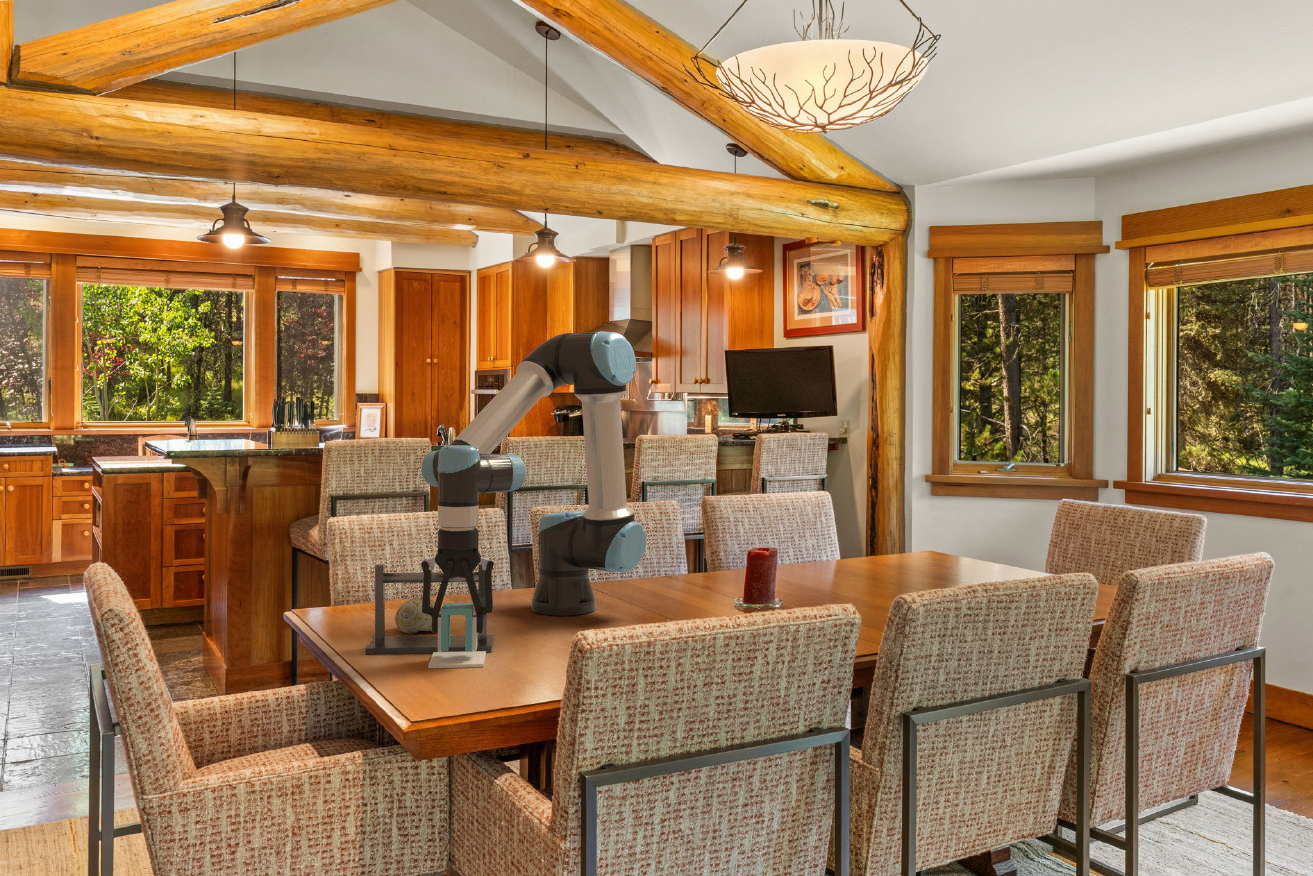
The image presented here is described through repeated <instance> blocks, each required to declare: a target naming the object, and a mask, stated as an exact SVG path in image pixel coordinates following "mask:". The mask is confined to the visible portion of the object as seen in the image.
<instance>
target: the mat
mask: <svg viewBox="0 0 1313 876" xmlns="http://www.w3.org/2000/svg"><path fill="white" fill-rule="evenodd" d="M486 655H487V652H486V651H476V652H433V653H432V655H431V658H430V660H429V663H428V665H427V667H428V669H460V668H461V669H462V668H465V669H466V668H484V667H485V663H486V662H485V661H486Z"/></svg>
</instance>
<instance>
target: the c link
mask: <svg viewBox="0 0 1313 876" xmlns="http://www.w3.org/2000/svg"><path fill="white" fill-rule="evenodd" d="M441 608H442V609H441V652H446V651H448V649H449V646H450V636H451V616H465V617H464V618H465V620H464V621H465V625H464V627H465V632H464V633H465V634H464V635H465V651H472V617H473V614H475V612H474V611H475V608H474V605H473V602H445V603H442V605H441Z"/></svg>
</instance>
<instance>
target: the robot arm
mask: <svg viewBox="0 0 1313 876" xmlns="http://www.w3.org/2000/svg"><path fill="white" fill-rule="evenodd" d="M636 368H637V361H636V355H635V352H634V348H633V346H632V345H631V343H630V342H629V341H628V340H627V338H626V337H625V336H624V335H623V334H620V333H618V332H611V331H602V330H601V331H595V332H594V331H592V332H591V331H590V332H574V333H573V332H565V333H560V334H557V335H555V336H553V337H551V338H549V339H547V340H546V341H544V342H542V343H541V344H540V345H538V346H536V348H534V349H533V350H532V351H531V352H529V354H527V355H526V357H524V358H523V359H522V360H521V362H519V364H518V365H517V366H516V370H515V371H516V373H515V375H514V376H513V377H512V378H510V379H509V381H508V382H507V383H506V384H505V385H504V386H503V387H502V389H500V391H499V392H498V393H497V394H496V395H495V396H494V397H493V398H492V399H491V400H490V401H489V402H487V405H485V406H484V407H483V408H482V409H481V411H479V413H478V414H477V415H476V416H475V417H474V418H473V419H472V420H471V421H470V423H468V425H467V426H466V427H465V428H464V429H463V430H462V431H461V432H460V433H459V434H458V435H457V436H456V437H455V439H453V440H452V441H451V442H450V443H449V444H448V445H444V446H442V447H441V448H439V449H438V450H433V451H430V452H428V453H427V454H425V456H424V458H423V460H422V462H421V468H420V469H421V474H422V478H423V480H424V481H425V482H426V484H428V485H430V486H431V487H435V488H437V526H438V527H439V529H438V531H437V552H436V555H435V556H434V557H433V558H429V559H422V561H421V563H420V566H421V569H422V573H424V581H423V583H422V584H423V586H422V597H423V600H422V612H423V613H424V614H428V615H430V616H431V617H432V631H431V632H432V634H436V635H437V636H438V652H441V615H439V612H440V609H441V608H442V606H443V602H444V598H445V595H446V592H447V589H448V585H449V584H450V582H449V579H450V578H455V577H461V578H465V579H466V582H465V583H466V585H467V587H468V591H469V595H470V597H471V600H472V603H473V605H474V611H475V612H474V614H473V617H472V652H476V650H477V635H478V633H482V631H483V616H484V615H485V614H487V615H488V614H491V613H492V612H493V609H494V603H493V602H494V601H493V578H492V577H493V576H492V574H493V573H492V571H493V569H494V566H495V560H494V559H493V558H489V559H488V558H485V557H482V556H481V553H480V551H479V550H480V549H479V543H480V542H479V539H480V538H479V536H480V535H479V529H478V528H476V527H477V526H479V521H480V519H479V517H480V516H479V515H480V514H479V512H480V509H479V507H480V495H483V494H484V495H485V494H496V493H509V492H513V491H516V490H519V489H520V488H522V486H523V485H524V483H525V481H526V478H527V467H526V464H525V462H524V460H523V459H522V458H521V457H520V456H519V455H518V454H515V453H504V452H502V453H492V452H494V450H495V449H496V448H498V446H499V445H500V444H501V443H502V441H503V440H504V439H505V438H506V437H507V436H508V435H509V434H510V432H512V431H513V429H514V428H515V427H516V426H517V425H518V424H519V423H520V421H521V420H522V419H524V417H525V416H526V414H528V413H529V412H530V411H531V409H532V408H533V407H534V406H535V405H536V404H537V403H538V401H540V399H541V398H543V397H544V398H545V397H549V396H550V395H551V394H552V393H553V392H554V391H555V390H556V389H557V388H560V387H562V386H568V385H571V386H573V391H574V392H573V393H574V395H573V396H575V397H576V398H577V399H578V400H579V401H580V402H581V408H582V411H581V412H582V423H583V424H582V425H583V436H584V437H583V438H584V439H583V440H584V455H585V468H586V469H585V470H586V483H587V485H586V486H587V497H588V507H587V509H586V510H584V509H583V510H581V509H580V510H571V511H569V510H568V511H561V512H559V511H558V512H553V513H552V512H550V513H546V514H544V515H541V517H540V519H539V528H538V529H539V530H538V579H537V581H536V582H537V583H536V585H535V588H534V591H533V594H532V597H531V603H530V604H531V607H530V608H531V609H530V610H531V611H532V612H533V613H537V614H540V615H546V616H547V615H548V616H557V617H558V616H560V617H561V616H565V617H566V616H578V615H584V614H588V613H589V614H590V613H593V612H595V610H596V608H597V604H596V602H597V601H596V596H595V593H594V590H593V586H592V583H591V580H590V578H589V577H590V576H589V569H590V570H597V571H603V572H608V573H610V574H611V573H612V574H614V573H616V574H617V573H619V574H624V573H625V574H626V573H629V572H631V571H633V570H635V568H637V566H638V565H639V564H640V562H641V560H642V559H643V558H644V554H645V551H646V547H647V532H646V529H645V528H644V526H643V525H642V524H641V523H639V522H638V521H635V511H634V509H633V508H631V506H630V505H629V504H627V501H628V499H627V486H626V485H627V483H626V471H625V456H624V455H625V453H624V452H625V451H624V439H623V437H624V435H623V424H622V409H621V407H622V406H621V399H622V398H623V396H625V394H626V393H627V385H628V384H629V383H630V382H631V381H632V380H633V379H634V377H635V375H634V374H635V373H636ZM479 563H481V565H482V569H483V570H485V600H486V606H484V607H482V604H481V600H480V597H479V594H478V586H477V582H475V580H474V575H473V572H475V569H476V568H477V567H478V566H479ZM435 565H437V566H438V568H439V569H440V570H441V572H443V573H444V575H443V578H442V582H441V583H440V586H439V588H438V592H437V596H436V599H435V601H434V602H435V605H434V608H433V607H430V600H431V597H432V596H431V595H432V594H431V593H432V583H431V578H432V572H433V570H434V569H435Z"/></svg>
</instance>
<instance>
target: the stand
mask: <svg viewBox="0 0 1313 876" xmlns="http://www.w3.org/2000/svg"><path fill="white" fill-rule="evenodd" d="M385 566H386V564H381V563H379V564H378V563H376V564H375V565H374V636H372V638H371V640H370V641H369V643H368V644H367V646H366V647H365V650H364V651H365V655H367V656H369V655H371V656H372V655H411V654H412V655H413V654H415V655H417V654H420V655H421V654H423V655H424V654H433V652H438V635H414V636H413V635H412V636H411V635H409V636H408V635H407V636H385V634H386V629H385V628H386V627H385V626H386V620H385V619H386V618H385V616H386V615H385V613H386V612H385V611H386V608H385V606H386V603H385V600H386V596H385V594H386V590H385V589H386V587H385V586H386V584H421V583H422V584H423V581H424V573H423V572H386V569H385V568H386V567H385ZM443 575H444V573H443V571H441V572H440V571H439V572H438V571H437V572H436V571H435V572H434V571H432V578H431V584H434V583H437V584H439V583H440V584H441V582H442V578H443ZM473 575H474V580H475V583H478V586H477V590H478V594H479V597H480V600H481V604H482V607H484V606H486V600H485V570H483V569H482V565H481V563H479V564H478V571H473ZM449 583H467V582H466V579H465V578H461V577H455V578H450V579H449ZM494 638H495V637H494V634H488V613H487V614H485V615H484V616H483V631H482V633H477V650H476V651H486V653H492V652H493V646H494V641H495V640H494ZM446 652H472V651H465V634H464V635H462V634H460V635H457V634H456V635H450V646H449V649H448V651H446Z"/></svg>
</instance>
